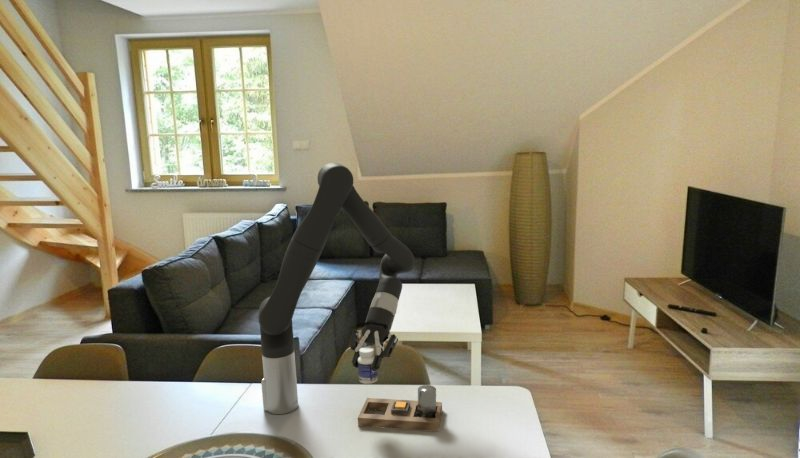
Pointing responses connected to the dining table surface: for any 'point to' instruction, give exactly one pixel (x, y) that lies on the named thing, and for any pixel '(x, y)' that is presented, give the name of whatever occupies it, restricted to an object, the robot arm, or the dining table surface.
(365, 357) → the pill bottle
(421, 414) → the cylinder
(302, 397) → the dining table surface
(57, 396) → the dining table surface
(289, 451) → the dining table surface
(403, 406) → the button
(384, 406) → the wooden compartment tray
